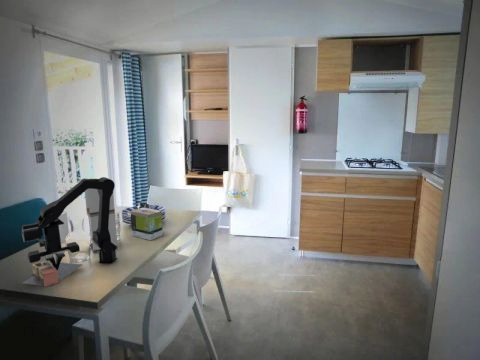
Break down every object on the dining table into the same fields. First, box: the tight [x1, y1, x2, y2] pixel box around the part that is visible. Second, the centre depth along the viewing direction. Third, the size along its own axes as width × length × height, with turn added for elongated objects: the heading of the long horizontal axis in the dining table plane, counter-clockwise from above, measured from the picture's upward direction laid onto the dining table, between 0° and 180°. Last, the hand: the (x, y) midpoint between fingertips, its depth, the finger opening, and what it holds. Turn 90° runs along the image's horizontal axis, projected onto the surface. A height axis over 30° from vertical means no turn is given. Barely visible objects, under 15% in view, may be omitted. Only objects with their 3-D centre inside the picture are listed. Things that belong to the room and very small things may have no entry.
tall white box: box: [84, 189, 119, 254], centre depth 172 cm, size 11×11×35 cm
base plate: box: [21, 261, 83, 287], centre depth 147 cm, size 14×20×1 cm
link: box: [31, 260, 59, 280], centre depth 144 cm, size 15×5×4 cm, turn 50°
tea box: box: [130, 207, 164, 241], centre depth 191 cm, size 15×10×15 cm, turn 58°
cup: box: [58, 209, 70, 244], centre depth 184 cm, size 8×8×16 cm
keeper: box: [41, 267, 60, 287], centre depth 138 cm, size 4×5×6 cm
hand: (56, 270), depth 145 cm, fingers closed
